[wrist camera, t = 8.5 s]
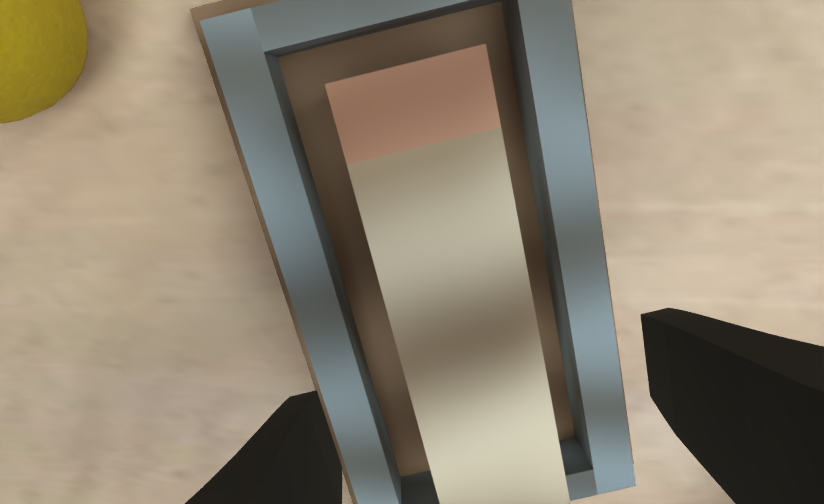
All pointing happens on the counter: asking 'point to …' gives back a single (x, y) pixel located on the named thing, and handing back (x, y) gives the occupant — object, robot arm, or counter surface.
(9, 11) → the lemon
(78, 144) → the counter surface
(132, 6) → the counter surface
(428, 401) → the two-tone wooden block
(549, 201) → the tray
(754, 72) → the counter surface
